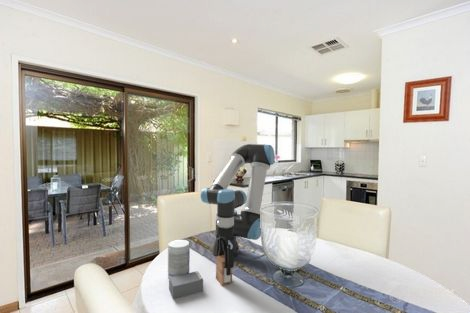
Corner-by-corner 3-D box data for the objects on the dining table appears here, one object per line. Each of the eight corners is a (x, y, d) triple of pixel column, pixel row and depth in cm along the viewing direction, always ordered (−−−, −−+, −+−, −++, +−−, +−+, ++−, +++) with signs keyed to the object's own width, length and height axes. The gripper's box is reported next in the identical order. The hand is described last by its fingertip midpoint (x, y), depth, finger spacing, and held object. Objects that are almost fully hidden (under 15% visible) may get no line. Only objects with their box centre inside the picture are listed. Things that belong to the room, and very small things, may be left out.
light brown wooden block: (226, 275, 107) (226, 254, 107) (231, 282, 102) (232, 259, 102) (215, 278, 105) (216, 256, 105) (221, 285, 100) (222, 262, 99)
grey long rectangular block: (197, 282, 102) (197, 270, 101) (202, 291, 95) (203, 278, 95) (169, 289, 96) (169, 276, 96) (172, 299, 90) (173, 285, 90)
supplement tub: (192, 277, 106) (193, 244, 105) (171, 283, 100) (172, 249, 100) (184, 268, 114) (185, 237, 113) (164, 273, 108) (165, 241, 108)
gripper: (209, 220, 110) (208, 269, 110) (226, 233, 93) (225, 291, 93) (224, 218, 113) (222, 266, 114) (243, 231, 96) (241, 287, 97)
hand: (223, 277), depth 104 cm, fingers closed on light brown wooden block, 6 cm apart
